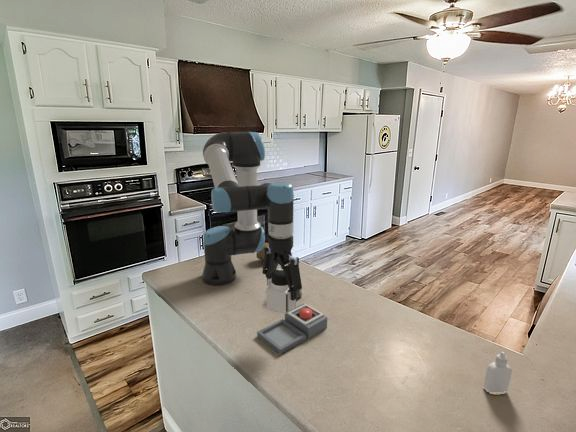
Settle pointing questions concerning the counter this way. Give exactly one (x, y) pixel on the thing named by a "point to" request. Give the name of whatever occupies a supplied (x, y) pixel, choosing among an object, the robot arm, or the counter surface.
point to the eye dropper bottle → (498, 374)
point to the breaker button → (305, 314)
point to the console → (292, 329)
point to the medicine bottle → (277, 292)
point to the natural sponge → (262, 252)
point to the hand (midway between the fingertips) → (281, 301)
